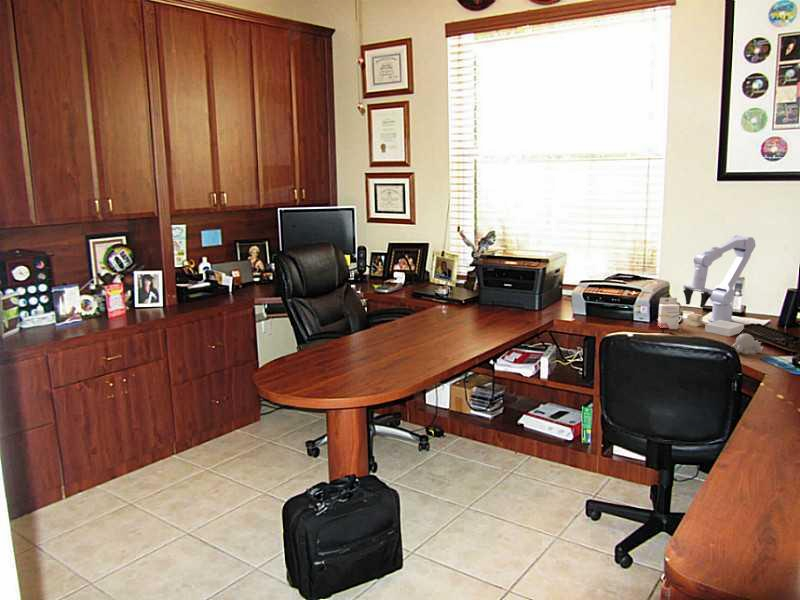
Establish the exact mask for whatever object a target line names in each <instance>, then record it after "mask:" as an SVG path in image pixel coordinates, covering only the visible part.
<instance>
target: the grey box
mask: <svg viewBox="0 0 800 600" xmlns="http://www.w3.org/2000/svg"><path fill="white" fill-rule="evenodd" d="M704 326H705V327H704V332H705V333H706V332H707V333H710V334H715V335H721V336H724V337H731V336H735V335H738V334H739V335H740V334H741V333H740V332H741V331H742V330H743V329H744V330H745V324H744V323H738V322H735V321H730V322H729V321H723V320H718V321H714V322H712V321H710V322H708V323H705V324H704Z"/></svg>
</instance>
